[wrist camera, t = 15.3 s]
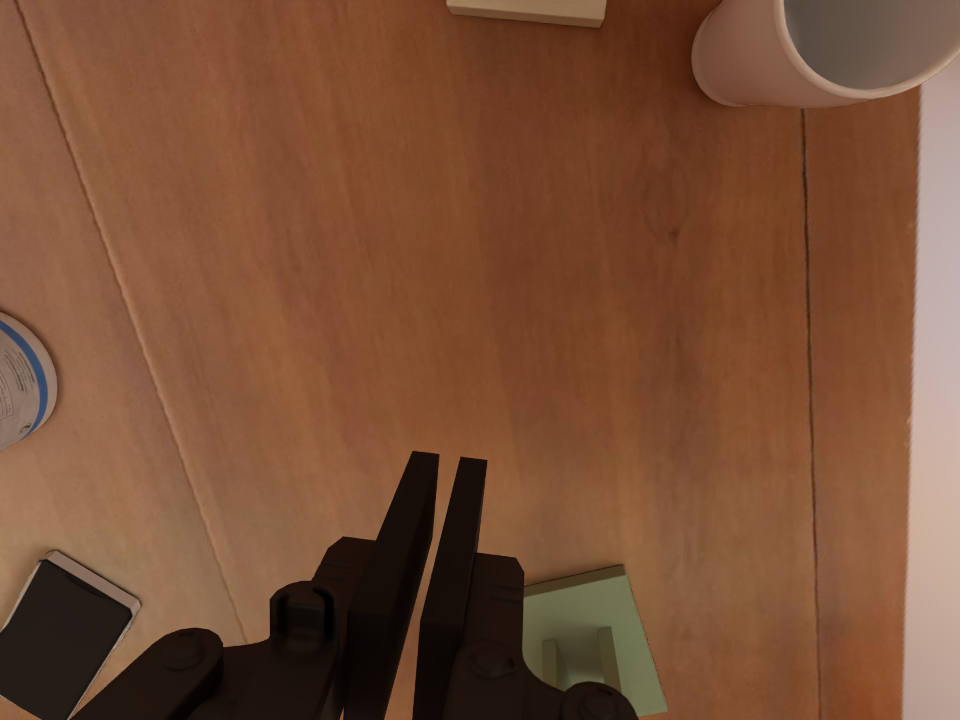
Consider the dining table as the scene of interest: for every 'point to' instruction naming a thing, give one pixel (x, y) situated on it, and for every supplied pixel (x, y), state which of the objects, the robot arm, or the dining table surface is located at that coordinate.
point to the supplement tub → (23, 382)
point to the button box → (534, 10)
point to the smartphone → (60, 636)
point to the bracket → (591, 637)
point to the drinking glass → (822, 50)
